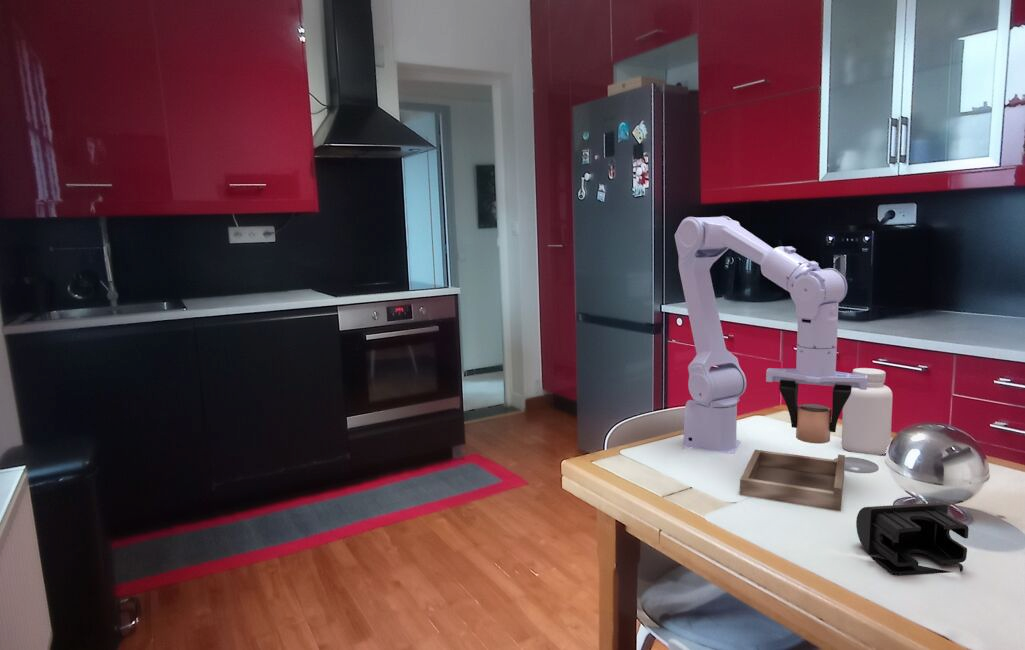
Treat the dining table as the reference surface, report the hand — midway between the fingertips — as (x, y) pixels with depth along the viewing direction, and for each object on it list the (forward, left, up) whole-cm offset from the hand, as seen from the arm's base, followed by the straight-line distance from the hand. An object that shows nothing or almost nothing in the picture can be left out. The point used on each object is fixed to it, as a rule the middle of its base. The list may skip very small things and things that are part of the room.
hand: (813, 428), depth 102 cm
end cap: (+13, -21, -10) cm, 26 cm away
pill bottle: (+8, +21, -9) cm, 24 cm away
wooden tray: (-2, -4, -9) cm, 10 cm away
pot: (0, 0, -2) cm, 2 cm away
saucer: (+6, +9, -9) cm, 14 cm away
